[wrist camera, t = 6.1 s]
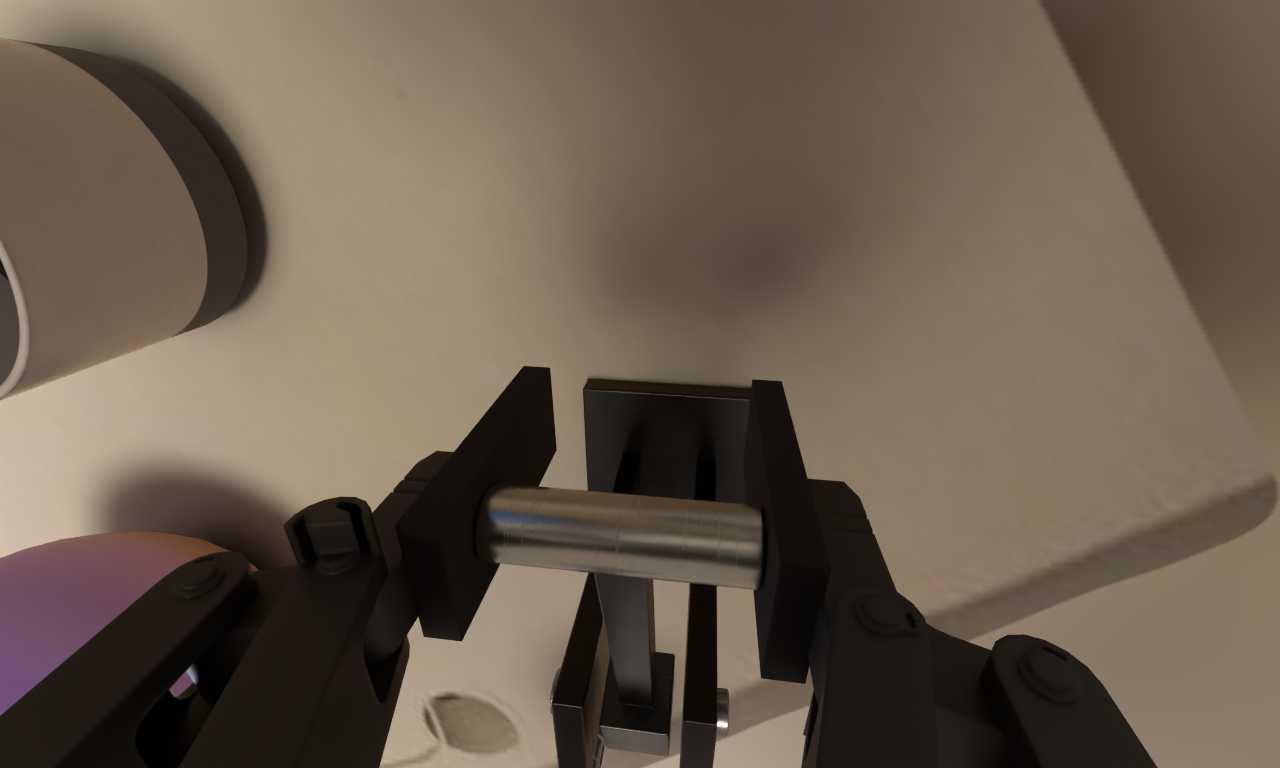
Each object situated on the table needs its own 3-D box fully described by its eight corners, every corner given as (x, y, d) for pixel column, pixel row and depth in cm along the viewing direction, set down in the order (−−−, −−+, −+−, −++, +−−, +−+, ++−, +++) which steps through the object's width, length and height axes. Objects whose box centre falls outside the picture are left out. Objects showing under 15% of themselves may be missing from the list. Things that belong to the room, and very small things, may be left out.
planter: (319, 259, 26) (101, 326, 17) (168, 356, 30) (-77, 454, 21) (120, -12, 22) (-316, -121, 13) (-26, 142, 26) (-442, 144, 17)
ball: (90, 587, 41) (-389, 933, 23) (120, 412, 33) (-599, 746, 15) (320, 701, 44) (49, 1088, 26) (402, 568, 35) (84, 1006, 18)
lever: (498, 451, 11) (455, 556, 9) (763, 471, 10) (770, 588, 9) (574, 668, 20) (559, 741, 18) (717, 686, 19) (716, 763, 18)
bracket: (587, 378, 27) (469, 605, 14) (760, 388, 26) (807, 643, 13) (595, 550, 33) (513, 834, 19) (739, 565, 32) (758, 874, 18)
